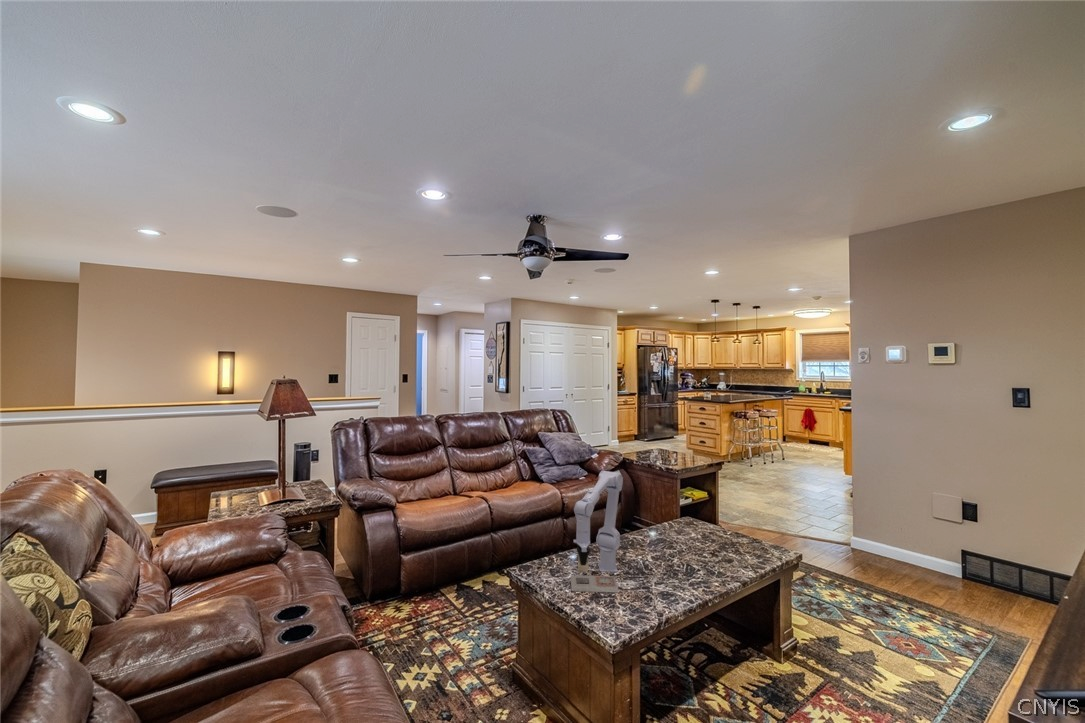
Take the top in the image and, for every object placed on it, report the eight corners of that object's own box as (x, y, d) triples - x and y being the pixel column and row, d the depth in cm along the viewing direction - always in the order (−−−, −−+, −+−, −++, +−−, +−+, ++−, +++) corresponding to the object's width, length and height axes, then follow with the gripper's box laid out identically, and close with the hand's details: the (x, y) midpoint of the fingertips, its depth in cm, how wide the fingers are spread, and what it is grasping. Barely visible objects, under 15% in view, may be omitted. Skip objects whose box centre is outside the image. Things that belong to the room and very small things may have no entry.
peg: (577, 567, 191) (577, 548, 191) (587, 567, 191) (587, 548, 191) (578, 571, 187) (578, 552, 187) (587, 571, 187) (588, 552, 187)
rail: (570, 579, 194) (570, 574, 194) (614, 581, 194) (614, 575, 194) (571, 591, 184) (571, 585, 184) (618, 592, 184) (618, 587, 184)
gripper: (573, 524, 197) (572, 555, 197) (574, 536, 182) (574, 569, 182) (589, 524, 197) (588, 555, 196) (591, 536, 182) (591, 570, 182)
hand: (582, 562), depth 189 cm, fingers closed on peg, 4 cm apart
